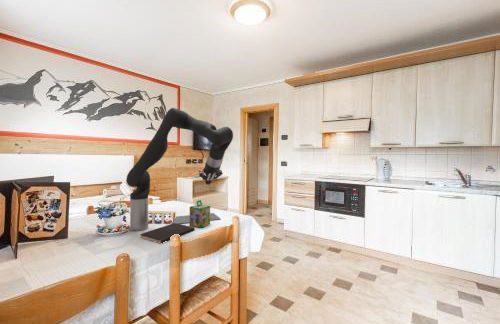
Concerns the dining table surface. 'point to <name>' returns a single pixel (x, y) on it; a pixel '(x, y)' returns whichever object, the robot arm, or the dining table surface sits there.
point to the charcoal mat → (187, 219)
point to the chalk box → (199, 215)
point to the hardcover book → (167, 232)
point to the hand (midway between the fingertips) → (207, 183)
